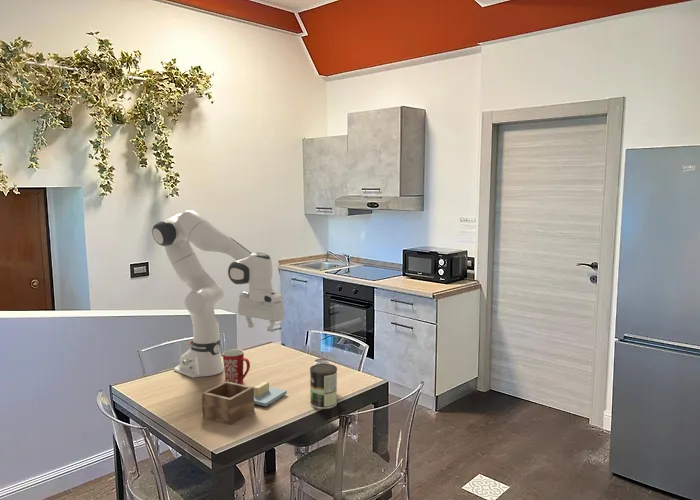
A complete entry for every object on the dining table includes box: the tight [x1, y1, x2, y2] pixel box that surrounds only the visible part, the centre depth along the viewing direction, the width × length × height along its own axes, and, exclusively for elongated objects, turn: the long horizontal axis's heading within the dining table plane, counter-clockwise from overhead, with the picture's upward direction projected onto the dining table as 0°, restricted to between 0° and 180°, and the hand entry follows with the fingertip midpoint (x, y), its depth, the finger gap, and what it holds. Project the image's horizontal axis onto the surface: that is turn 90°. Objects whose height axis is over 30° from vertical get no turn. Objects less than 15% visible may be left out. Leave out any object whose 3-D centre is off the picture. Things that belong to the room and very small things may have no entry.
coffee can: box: [309, 363, 338, 410], centre depth 200 cm, size 10×10×14 cm
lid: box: [253, 381, 288, 407], centre depth 206 cm, size 14×14×6 cm
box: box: [201, 381, 255, 426], centre depth 191 cm, size 13×13×9 cm
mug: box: [221, 348, 251, 385], centre depth 220 cm, size 13×9×14 cm
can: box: [313, 358, 330, 365], centre depth 215 cm, size 6×6×12 cm
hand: (260, 329), depth 207 cm, fingers open, 8 cm apart
